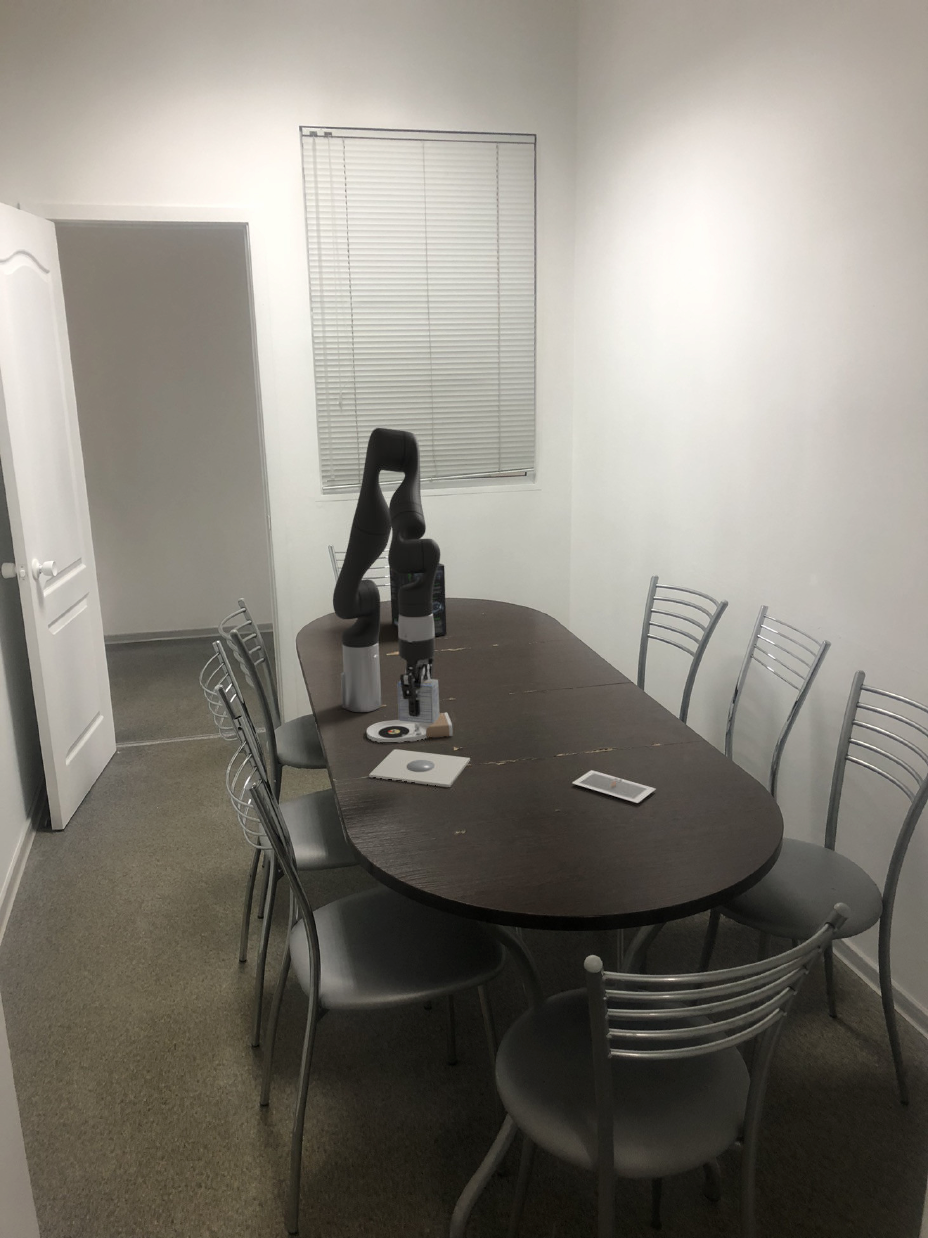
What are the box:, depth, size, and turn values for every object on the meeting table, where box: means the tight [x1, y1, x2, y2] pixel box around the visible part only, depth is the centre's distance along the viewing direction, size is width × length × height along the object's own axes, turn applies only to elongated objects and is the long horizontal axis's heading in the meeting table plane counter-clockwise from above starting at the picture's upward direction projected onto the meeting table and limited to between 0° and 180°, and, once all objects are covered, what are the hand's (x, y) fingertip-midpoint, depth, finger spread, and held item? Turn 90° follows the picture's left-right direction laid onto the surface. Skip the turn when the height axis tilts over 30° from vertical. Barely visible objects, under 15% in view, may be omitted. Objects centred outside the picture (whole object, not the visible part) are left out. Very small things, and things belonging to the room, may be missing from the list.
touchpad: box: [572, 769, 656, 804], centre depth 178 cm, size 8×15×2 cm, turn 51°
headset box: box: [388, 562, 448, 637], centre depth 296 cm, size 22×12×26 cm, turn 25°
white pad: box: [368, 748, 471, 788], centre depth 189 cm, size 18×14×1 cm
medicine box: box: [396, 678, 440, 724], centre depth 185 cm, size 8×4×9 cm, turn 74°
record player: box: [366, 712, 454, 743], centre depth 209 cm, size 12×3×20 cm
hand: (418, 711), depth 186 cm, fingers closed on medicine box, 4 cm apart
